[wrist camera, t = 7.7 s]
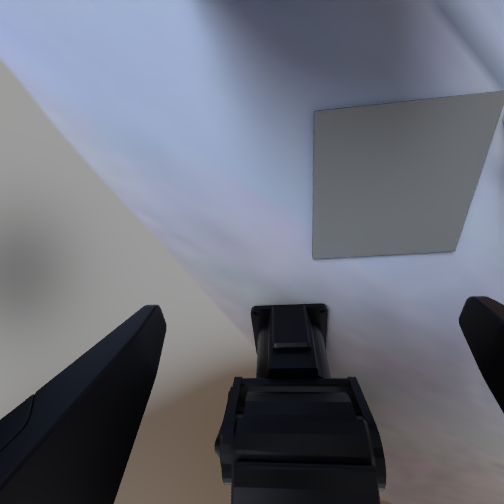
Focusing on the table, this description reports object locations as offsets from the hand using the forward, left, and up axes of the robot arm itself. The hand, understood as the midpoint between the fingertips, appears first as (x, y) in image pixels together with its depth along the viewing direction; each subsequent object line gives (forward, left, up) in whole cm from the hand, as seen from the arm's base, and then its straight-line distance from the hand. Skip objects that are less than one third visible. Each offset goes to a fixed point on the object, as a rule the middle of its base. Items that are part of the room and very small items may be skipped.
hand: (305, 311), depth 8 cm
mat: (-1, -7, -12) cm, 14 cm away
